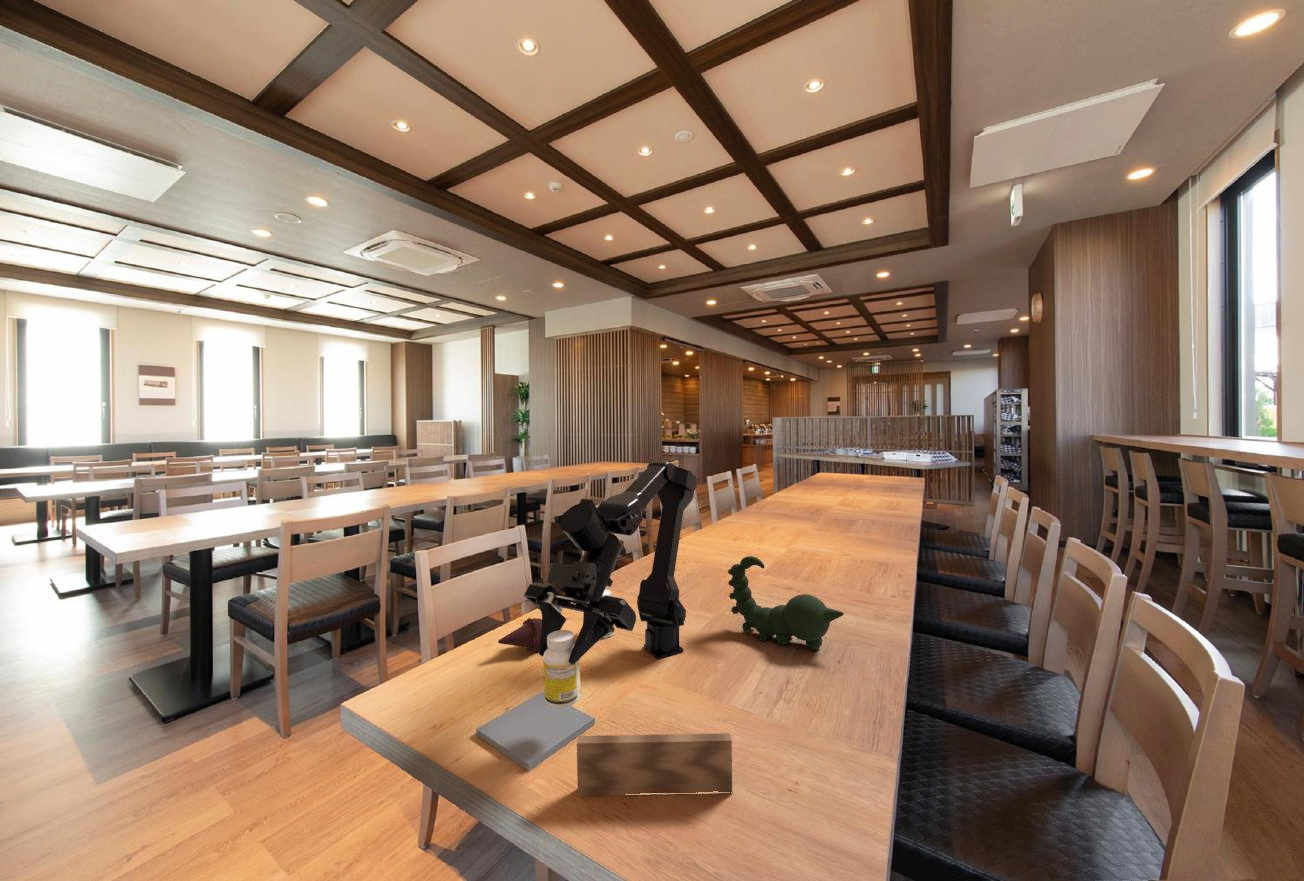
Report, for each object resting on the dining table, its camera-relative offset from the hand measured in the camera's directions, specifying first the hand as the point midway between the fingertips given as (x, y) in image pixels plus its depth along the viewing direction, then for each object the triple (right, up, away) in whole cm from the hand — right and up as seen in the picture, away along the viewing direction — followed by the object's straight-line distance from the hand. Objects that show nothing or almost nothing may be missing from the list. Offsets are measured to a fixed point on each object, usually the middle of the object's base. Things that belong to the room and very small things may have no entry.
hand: (555, 659), depth 71 cm
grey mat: (-4, -13, +4) cm, 14 cm away
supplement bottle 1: (+1, -7, +1) cm, 7 cm away
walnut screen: (+15, -13, -9) cm, 22 cm away
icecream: (-11, -13, +32) cm, 36 cm away
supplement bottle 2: (+3, -12, +39) cm, 41 cm away
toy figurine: (+44, -12, +34) cm, 57 cm away
